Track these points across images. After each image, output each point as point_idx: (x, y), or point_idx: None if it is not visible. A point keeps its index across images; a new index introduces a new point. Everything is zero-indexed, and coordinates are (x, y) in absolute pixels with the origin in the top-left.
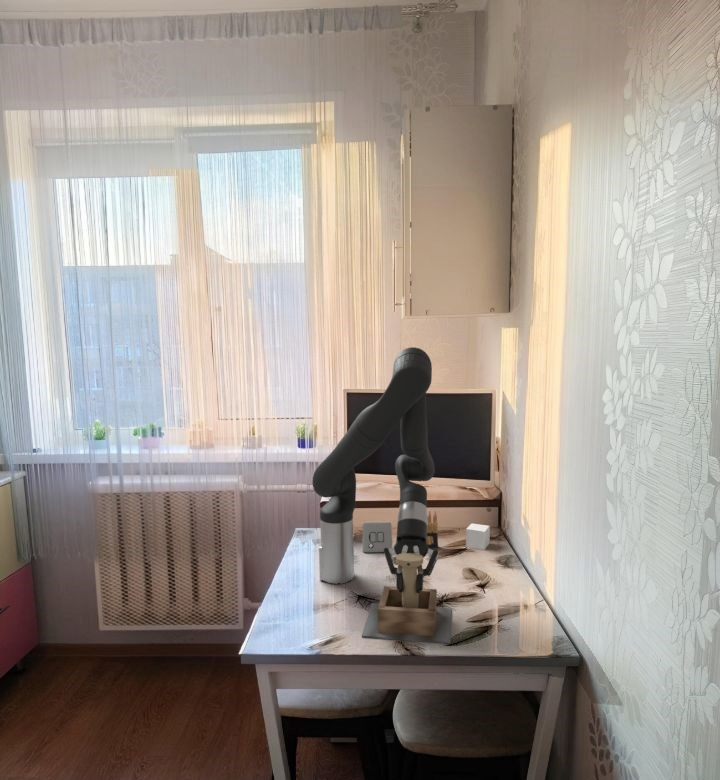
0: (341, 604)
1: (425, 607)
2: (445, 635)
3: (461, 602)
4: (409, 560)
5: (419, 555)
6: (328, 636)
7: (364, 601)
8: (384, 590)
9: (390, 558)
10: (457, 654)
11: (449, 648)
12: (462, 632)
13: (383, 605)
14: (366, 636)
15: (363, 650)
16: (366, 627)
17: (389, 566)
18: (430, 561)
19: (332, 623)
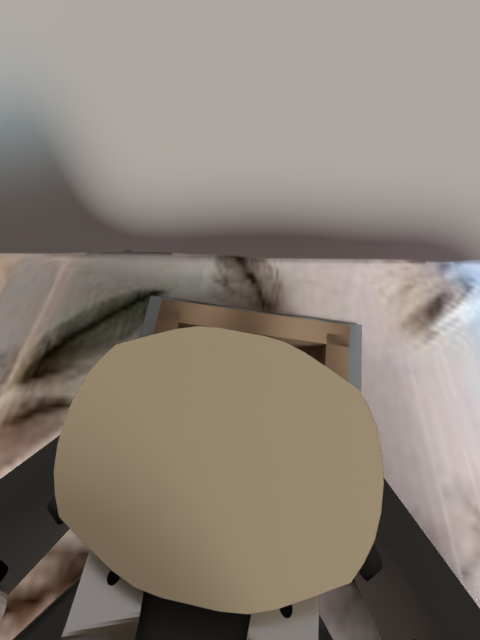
0: (460, 534)
1: None
2: (155, 323)
3: None
4: (228, 348)
5: (88, 501)
6: (442, 331)
7: None
8: None
9: (420, 581)
10: (147, 258)
11: (158, 279)
12: (109, 346)
13: (332, 349)
14: (348, 323)
15: (347, 273)
16: (354, 365)
17: (385, 485)
18: (22, 495)
19: (452, 398)
